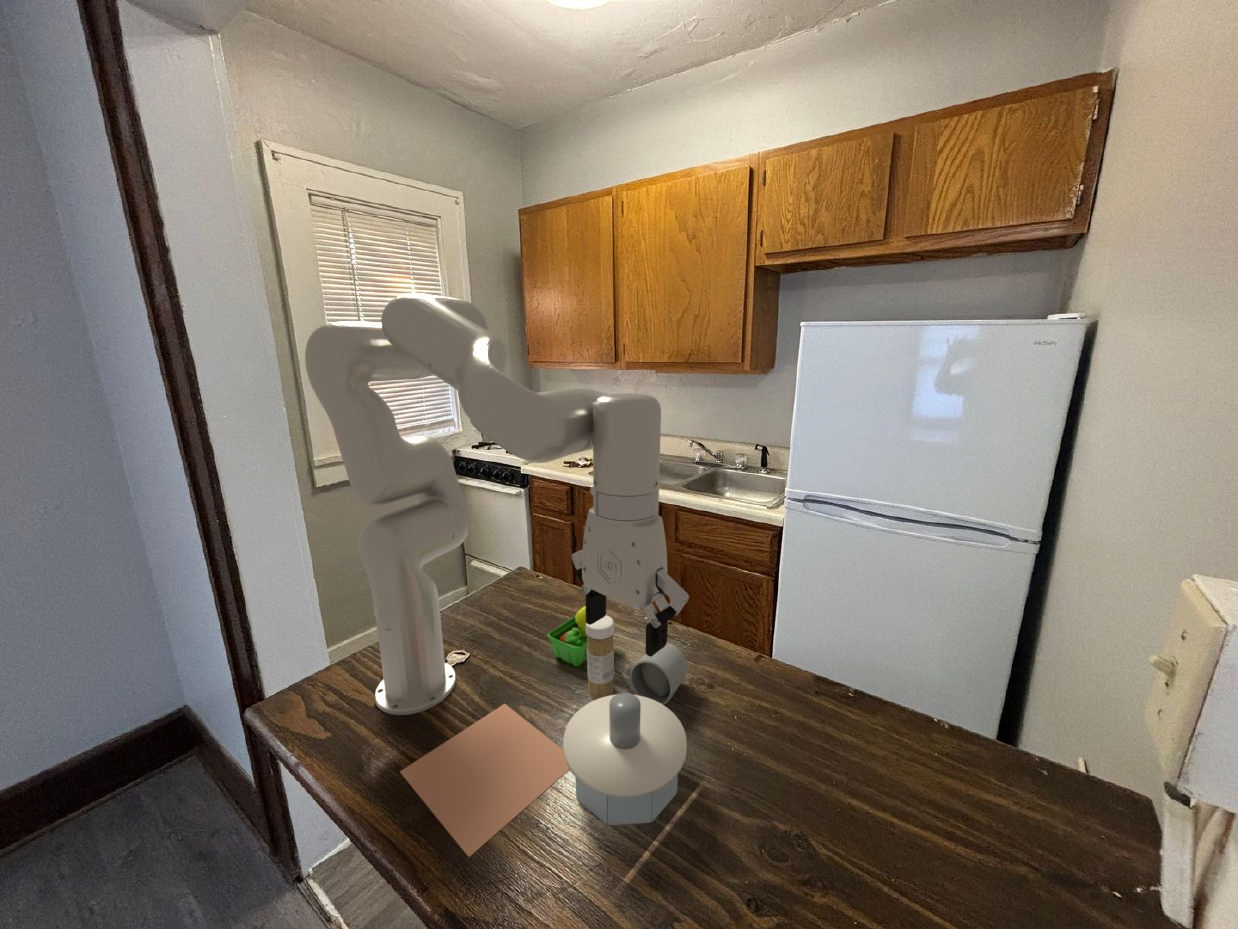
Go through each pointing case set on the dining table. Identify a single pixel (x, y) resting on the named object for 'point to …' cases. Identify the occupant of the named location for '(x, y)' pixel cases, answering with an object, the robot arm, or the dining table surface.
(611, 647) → the spice bottle
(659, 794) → the bowl
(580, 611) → the fruit basket
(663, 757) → the lid
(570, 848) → the dining table surface
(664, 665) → the ceramic mug
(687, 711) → the dining table surface
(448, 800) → the mat
